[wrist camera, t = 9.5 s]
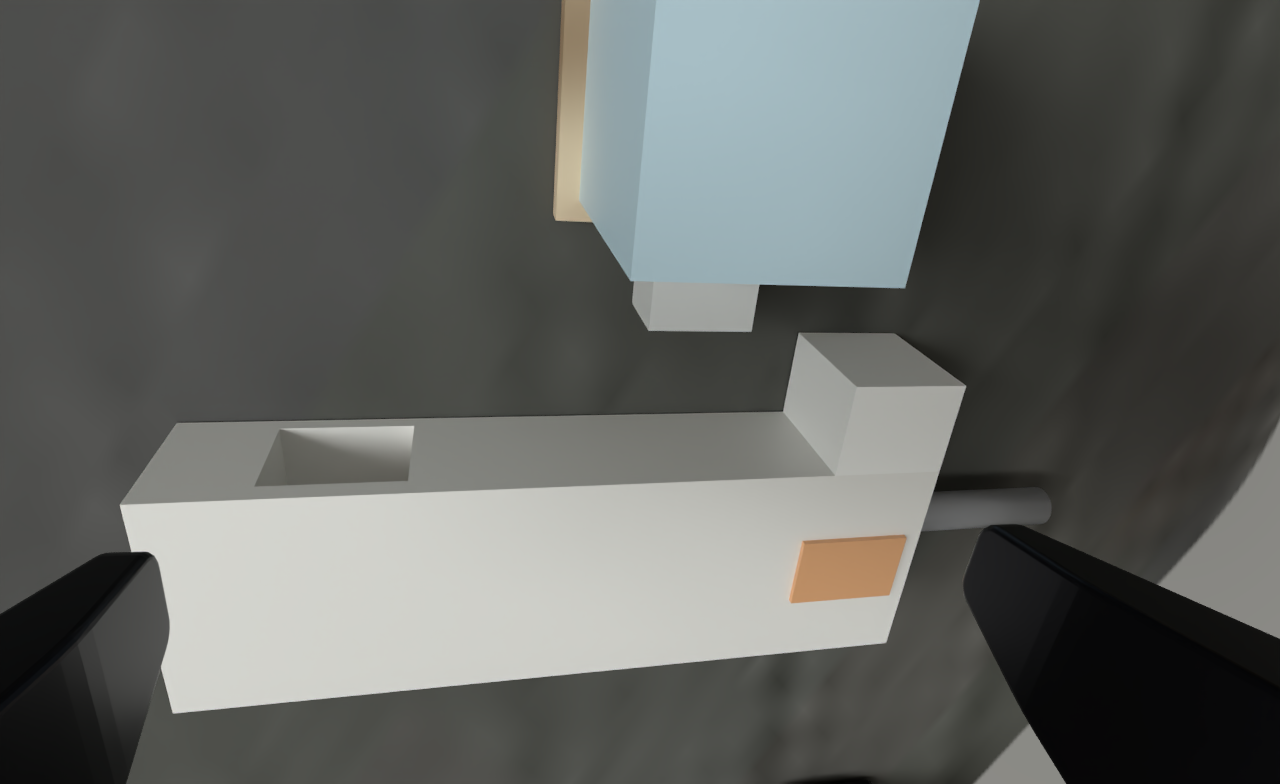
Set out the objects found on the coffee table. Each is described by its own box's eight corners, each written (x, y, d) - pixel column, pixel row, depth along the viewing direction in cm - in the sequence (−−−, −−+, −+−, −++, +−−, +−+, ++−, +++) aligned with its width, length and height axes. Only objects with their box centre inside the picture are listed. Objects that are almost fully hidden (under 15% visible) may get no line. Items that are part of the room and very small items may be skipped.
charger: (764, 295, 19) (876, 398, 14) (573, 290, 18) (619, 402, 13) (820, -26, 16) (991, -46, 11) (593, -56, 15) (664, -94, 10)
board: (784, 224, 19) (793, 230, 19) (553, 214, 18) (555, 220, 17) (831, -42, 17) (843, -43, 16) (565, -78, 15) (569, -81, 15)
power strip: (987, 555, 27) (1059, 629, 23) (214, 611, 21) (170, 718, 18) (1068, 334, 23) (1167, 386, 20) (157, 327, 17) (88, 398, 14)
